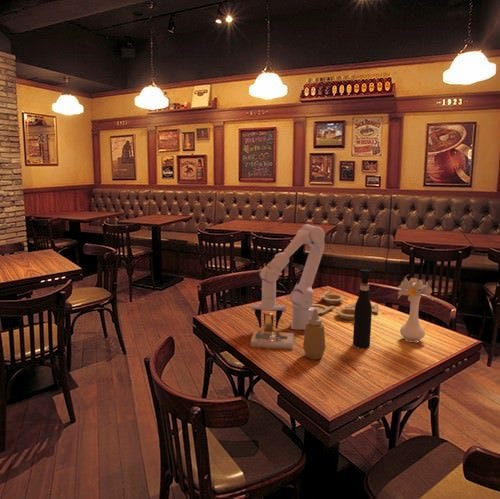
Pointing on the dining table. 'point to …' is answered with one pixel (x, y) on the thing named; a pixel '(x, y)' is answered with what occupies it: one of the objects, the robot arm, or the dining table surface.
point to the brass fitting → (268, 321)
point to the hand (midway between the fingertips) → (268, 327)
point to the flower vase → (413, 308)
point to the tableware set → (344, 312)
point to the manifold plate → (272, 340)
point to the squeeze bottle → (314, 337)
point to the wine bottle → (363, 313)
